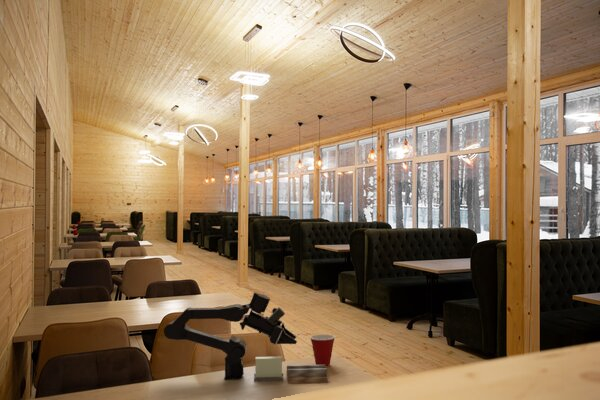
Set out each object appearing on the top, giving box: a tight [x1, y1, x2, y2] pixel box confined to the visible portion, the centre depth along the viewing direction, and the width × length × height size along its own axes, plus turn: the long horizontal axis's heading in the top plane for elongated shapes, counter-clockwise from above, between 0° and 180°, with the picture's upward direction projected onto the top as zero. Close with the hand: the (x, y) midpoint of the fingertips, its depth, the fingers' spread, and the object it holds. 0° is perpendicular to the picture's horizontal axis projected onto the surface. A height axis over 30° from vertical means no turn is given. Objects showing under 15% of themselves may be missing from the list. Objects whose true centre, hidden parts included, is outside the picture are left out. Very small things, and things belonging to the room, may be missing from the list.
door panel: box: [254, 356, 283, 377], centre depth 172 cm, size 10×2×8 cm, turn 94°
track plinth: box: [285, 364, 329, 384], centre depth 173 cm, size 15×10×4 cm, turn 94°
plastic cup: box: [309, 334, 336, 367], centre depth 188 cm, size 11×11×12 cm
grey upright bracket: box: [253, 372, 284, 383], centre depth 172 cm, size 11×5×1 cm, turn 94°
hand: (296, 340), depth 175 cm, fingers open, 9 cm apart
